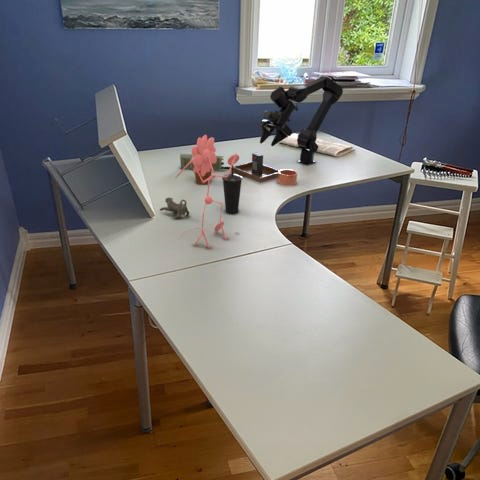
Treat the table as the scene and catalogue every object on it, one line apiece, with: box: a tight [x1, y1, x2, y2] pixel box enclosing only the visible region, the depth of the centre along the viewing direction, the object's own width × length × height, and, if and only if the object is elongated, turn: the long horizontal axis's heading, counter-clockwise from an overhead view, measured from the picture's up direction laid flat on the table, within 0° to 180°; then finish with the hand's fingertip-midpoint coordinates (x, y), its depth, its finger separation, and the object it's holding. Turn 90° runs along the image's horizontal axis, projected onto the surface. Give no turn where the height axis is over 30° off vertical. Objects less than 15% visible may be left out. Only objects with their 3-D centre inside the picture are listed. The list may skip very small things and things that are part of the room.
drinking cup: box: [221, 165, 243, 215], centre depth 186 cm, size 8×8×20 cm
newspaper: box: [278, 133, 355, 157], centre depth 266 cm, size 37×19×3 cm, turn 50°
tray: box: [233, 161, 281, 184], centre depth 227 cm, size 14×19×3 cm
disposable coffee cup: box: [192, 155, 212, 185], centre depth 215 cm, size 10×10×12 cm
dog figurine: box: [159, 197, 190, 220], centre depth 185 cm, size 12×6×7 cm, turn 53°
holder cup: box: [277, 168, 298, 186], centre depth 218 cm, size 8×8×5 cm
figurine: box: [174, 134, 240, 249], centre depth 162 cm, size 15×26×35 cm, turn 142°
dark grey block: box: [251, 152, 264, 176], centre depth 224 cm, size 3×5×9 cm, turn 39°
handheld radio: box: [179, 153, 230, 172], centre depth 230 cm, size 7×3×25 cm
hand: (266, 144), depth 222 cm, fingers open, 9 cm apart
